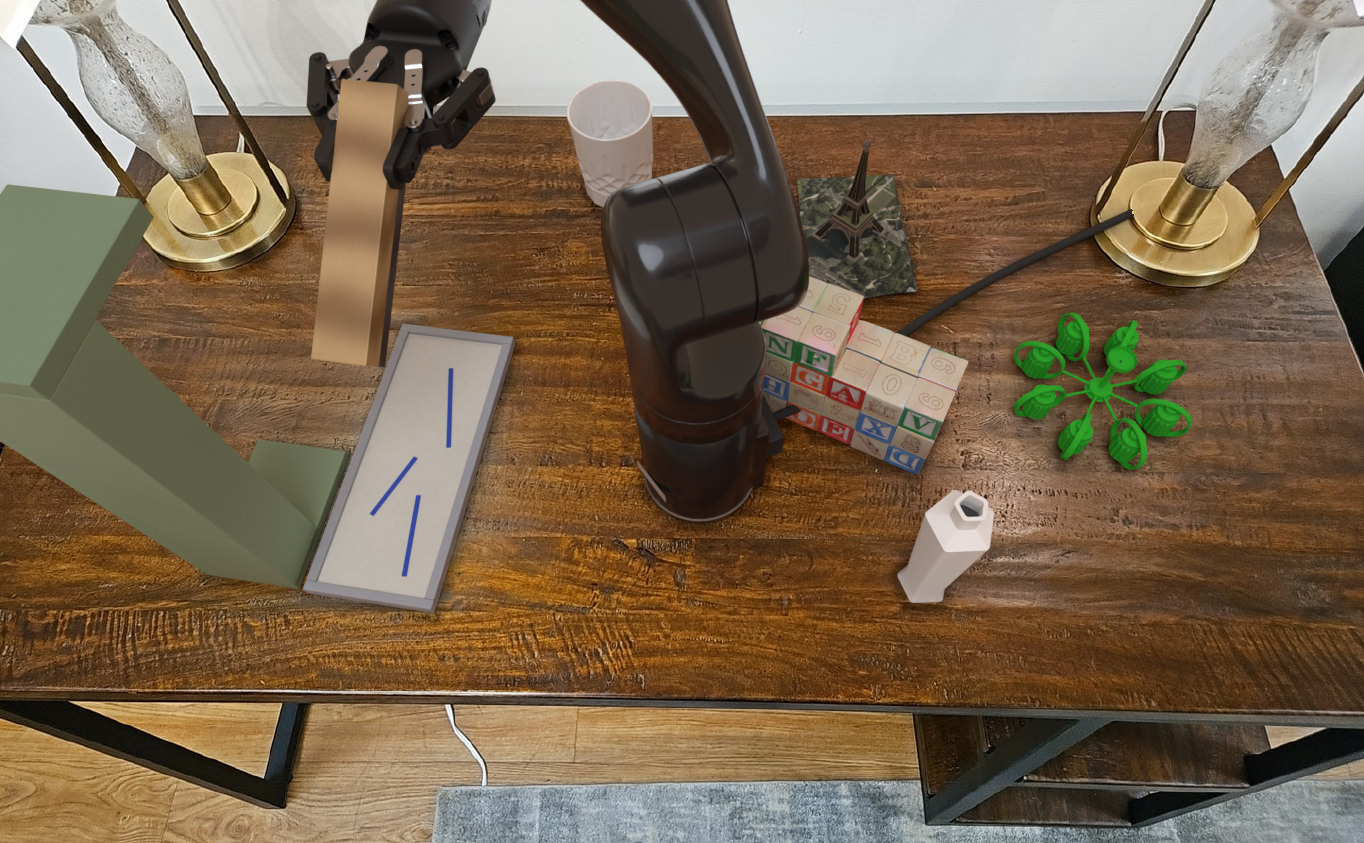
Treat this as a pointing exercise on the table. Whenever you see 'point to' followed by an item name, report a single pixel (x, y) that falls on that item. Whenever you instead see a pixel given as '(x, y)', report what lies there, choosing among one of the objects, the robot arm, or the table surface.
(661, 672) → the table surface
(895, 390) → the stack of blocks
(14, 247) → the green bent block
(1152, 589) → the table surface
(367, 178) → the eraser
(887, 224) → the eiffel tower figurine
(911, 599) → the white faceted vase
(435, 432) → the whiteboard
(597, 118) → the white cup
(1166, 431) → the chandelier
